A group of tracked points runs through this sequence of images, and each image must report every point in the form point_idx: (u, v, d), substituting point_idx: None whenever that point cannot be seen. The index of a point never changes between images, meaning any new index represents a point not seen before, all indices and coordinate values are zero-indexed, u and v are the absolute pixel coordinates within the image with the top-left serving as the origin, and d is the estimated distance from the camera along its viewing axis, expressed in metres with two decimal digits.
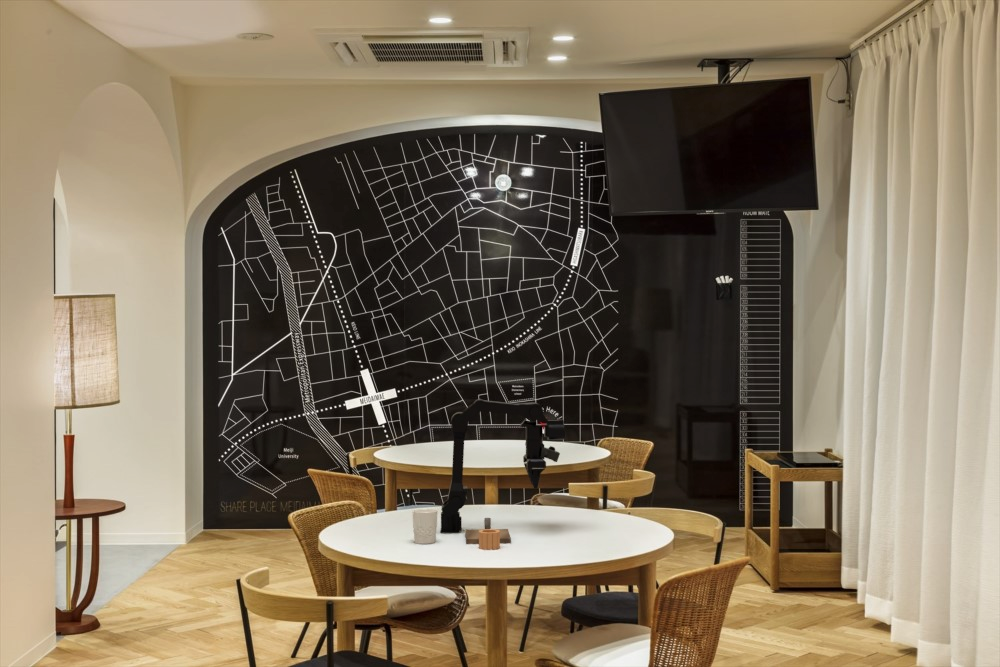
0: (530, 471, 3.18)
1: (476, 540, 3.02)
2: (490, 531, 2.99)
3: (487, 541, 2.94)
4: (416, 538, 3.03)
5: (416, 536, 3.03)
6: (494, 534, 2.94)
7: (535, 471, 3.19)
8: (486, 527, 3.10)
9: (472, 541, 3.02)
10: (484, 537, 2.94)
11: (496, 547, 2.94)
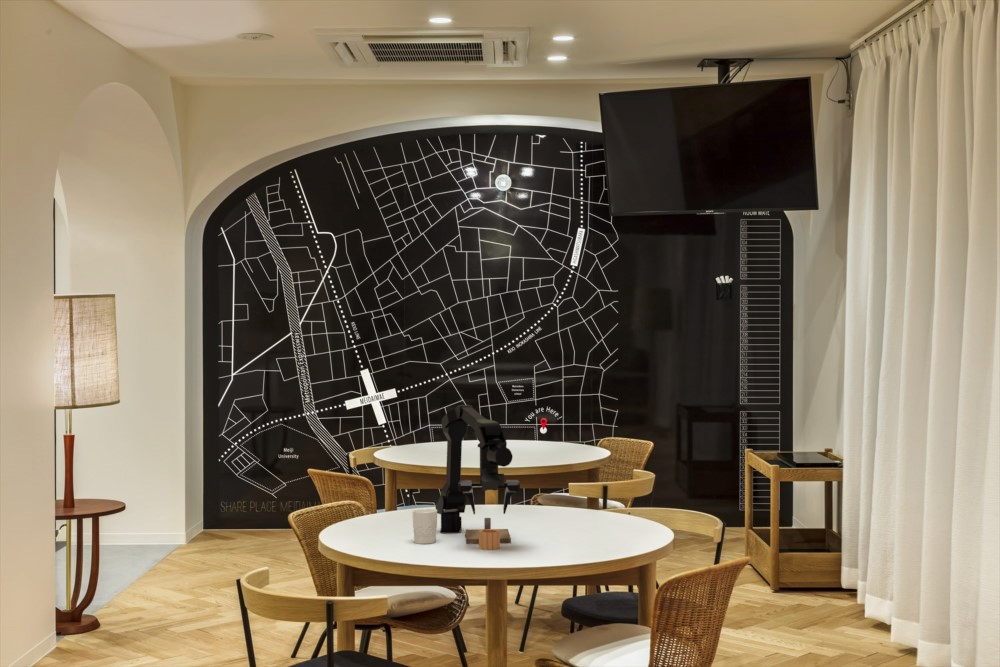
0: None
1: (476, 540, 3.02)
2: (490, 531, 2.99)
3: (487, 541, 2.94)
4: (416, 538, 3.03)
5: (416, 536, 3.03)
6: (494, 534, 2.94)
7: None
8: (486, 527, 3.10)
9: (472, 541, 3.02)
10: (484, 537, 2.94)
11: (496, 547, 2.94)
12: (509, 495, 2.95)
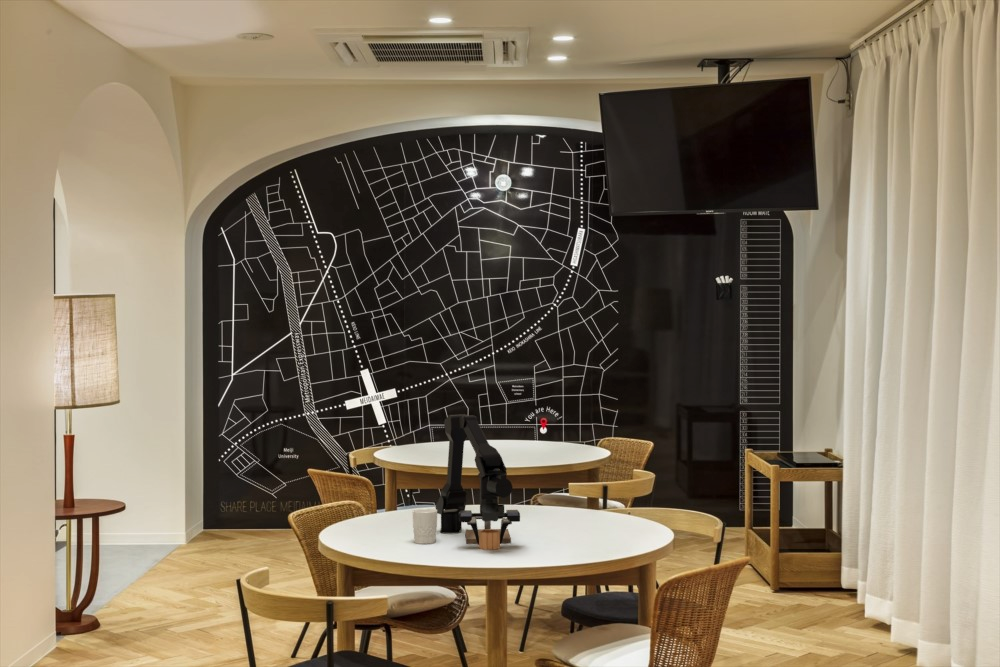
0: None
1: (476, 540, 3.02)
2: (490, 531, 2.99)
3: (487, 541, 2.94)
4: (416, 538, 3.03)
5: (416, 536, 3.03)
6: (494, 534, 2.94)
7: None
8: (486, 527, 3.10)
9: (472, 541, 3.02)
10: (484, 537, 2.94)
11: (496, 547, 2.94)
12: (505, 525, 2.95)
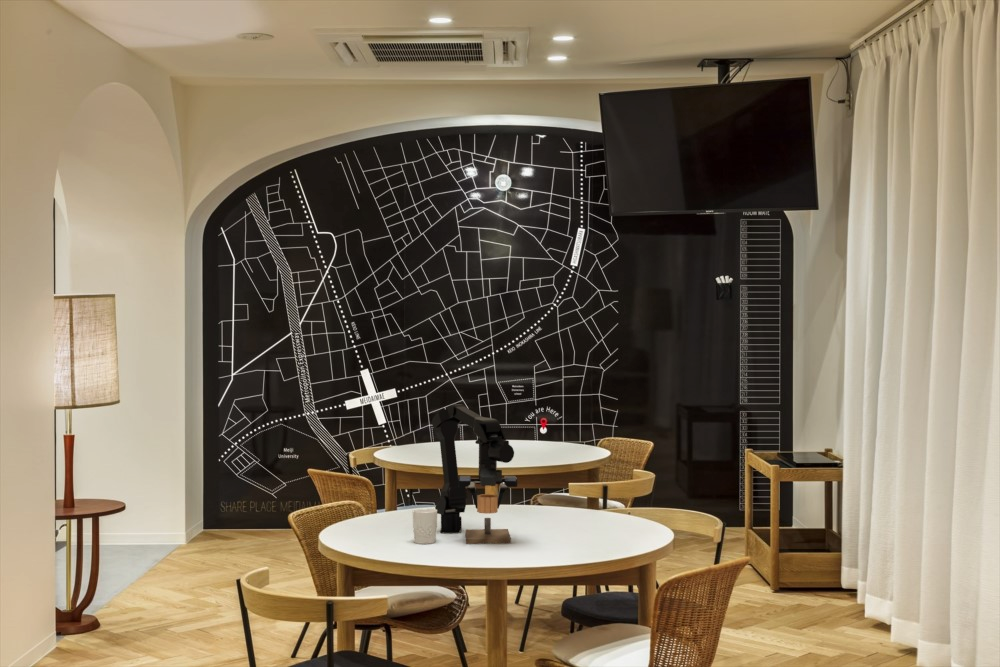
0: None
1: (476, 540, 3.02)
2: (488, 496, 3.08)
3: (485, 505, 3.02)
4: (416, 538, 3.03)
5: (416, 536, 3.03)
6: (492, 498, 3.03)
7: None
8: (486, 527, 3.10)
9: (472, 541, 3.02)
10: (482, 501, 3.03)
11: (494, 511, 3.03)
12: (503, 490, 3.04)
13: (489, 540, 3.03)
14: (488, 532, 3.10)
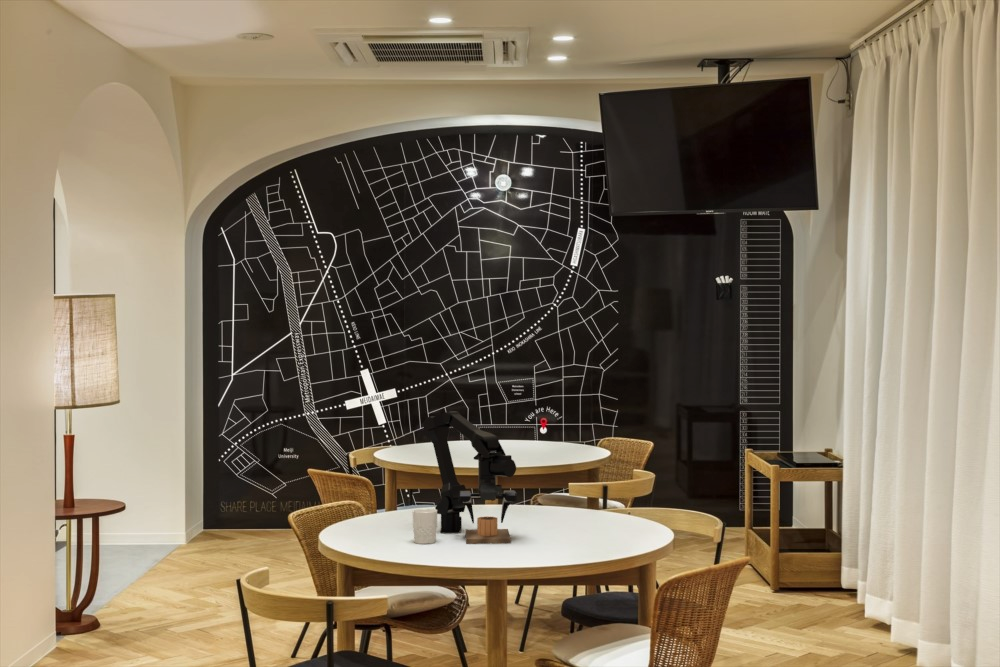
0: None
1: (476, 540, 3.02)
2: None
3: (485, 528, 3.08)
4: (416, 538, 3.03)
5: (416, 536, 3.03)
6: (492, 521, 3.08)
7: None
8: None
9: (472, 541, 3.02)
10: (482, 524, 3.08)
11: (494, 533, 3.08)
12: (506, 505, 3.09)
13: (489, 540, 3.03)
14: None
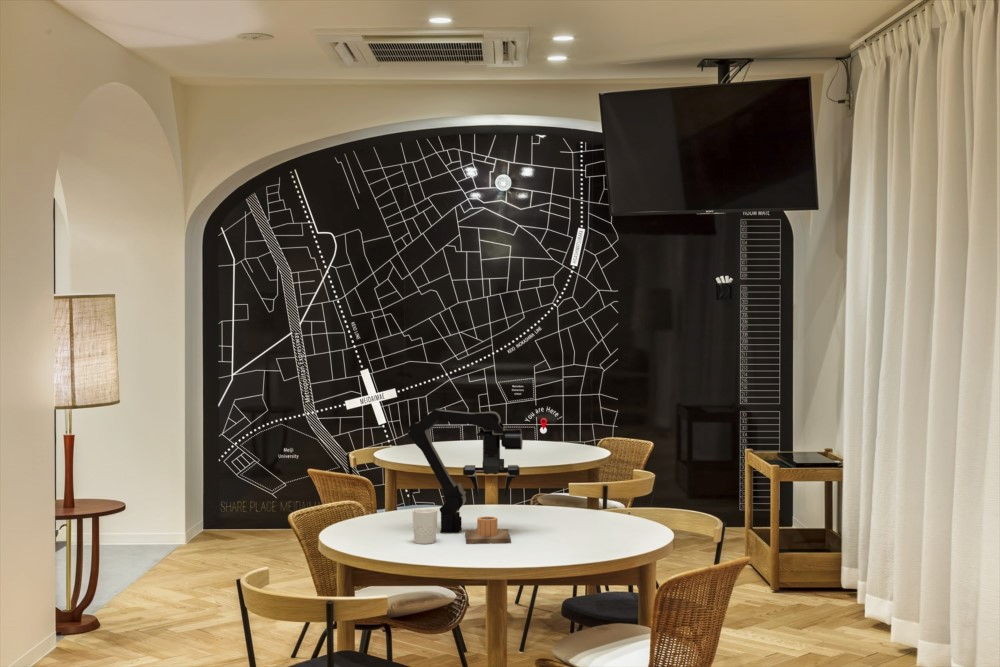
0: None
1: (476, 540, 3.02)
2: None
3: (485, 528, 3.08)
4: (416, 538, 3.03)
5: (416, 536, 3.03)
6: (492, 521, 3.08)
7: None
8: None
9: (472, 541, 3.02)
10: (482, 524, 3.08)
11: (494, 533, 3.08)
12: (509, 479, 3.19)
13: (489, 540, 3.03)
14: None
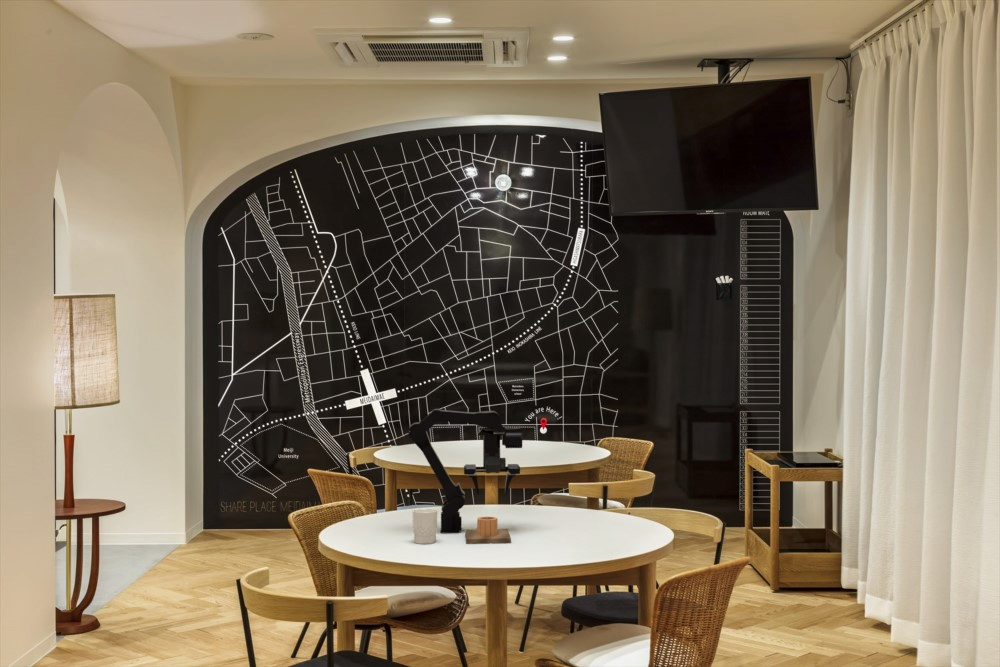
0: None
1: (476, 540, 3.02)
2: None
3: (485, 528, 3.08)
4: (416, 538, 3.03)
5: (416, 536, 3.03)
6: (492, 521, 3.08)
7: None
8: None
9: (472, 541, 3.02)
10: (482, 524, 3.08)
11: (494, 533, 3.08)
12: (510, 478, 3.22)
13: (489, 540, 3.03)
14: None
